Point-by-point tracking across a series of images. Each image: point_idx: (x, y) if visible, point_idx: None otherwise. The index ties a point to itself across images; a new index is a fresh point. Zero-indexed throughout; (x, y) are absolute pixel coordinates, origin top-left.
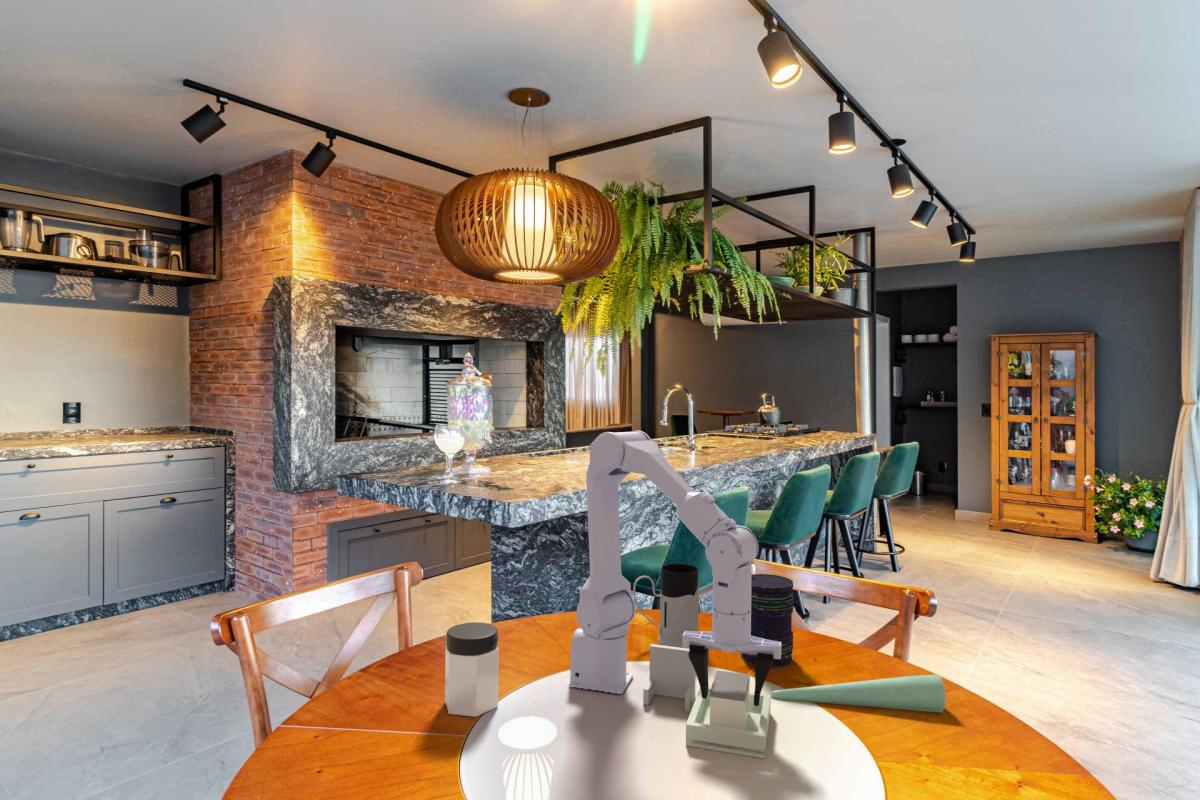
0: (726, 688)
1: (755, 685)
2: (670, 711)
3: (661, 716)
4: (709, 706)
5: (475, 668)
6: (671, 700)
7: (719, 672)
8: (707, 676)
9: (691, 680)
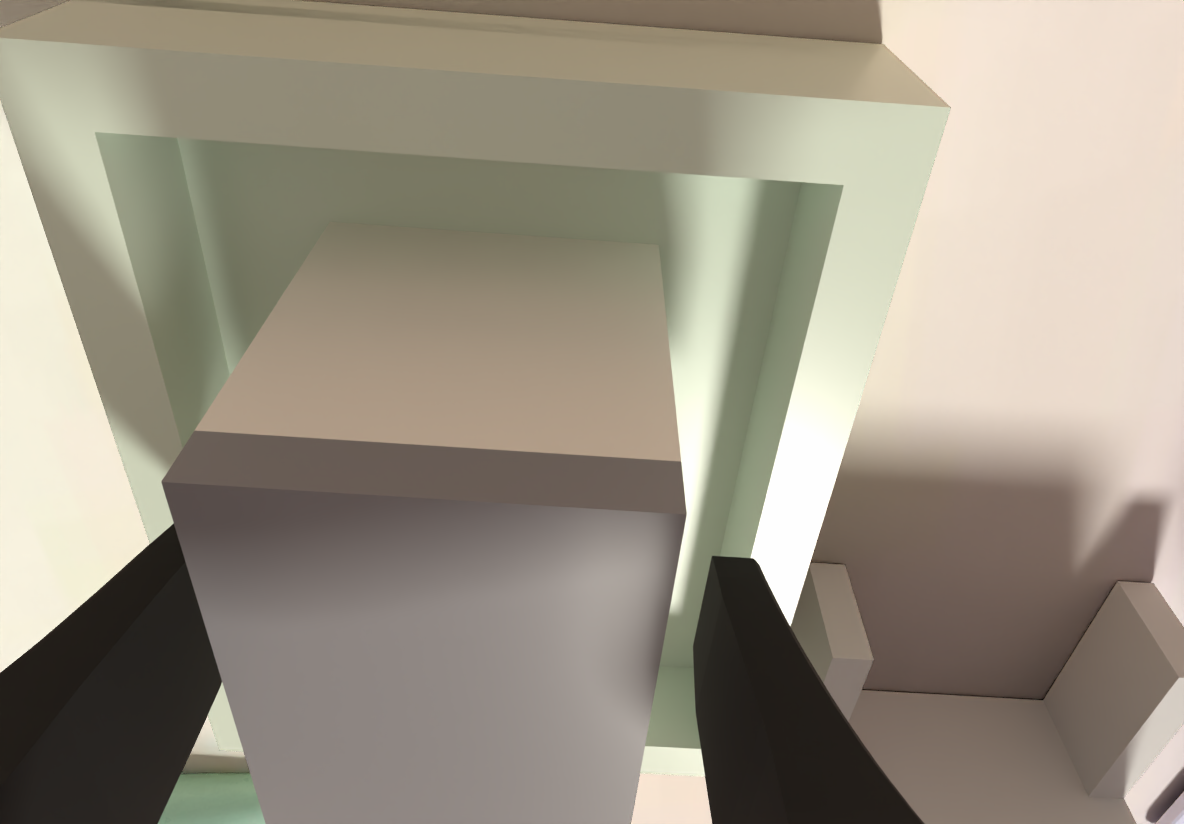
0: (463, 619)
1: (63, 697)
2: (954, 542)
3: (1038, 469)
4: (669, 611)
5: None
6: (928, 660)
7: None
8: (718, 803)
9: None
